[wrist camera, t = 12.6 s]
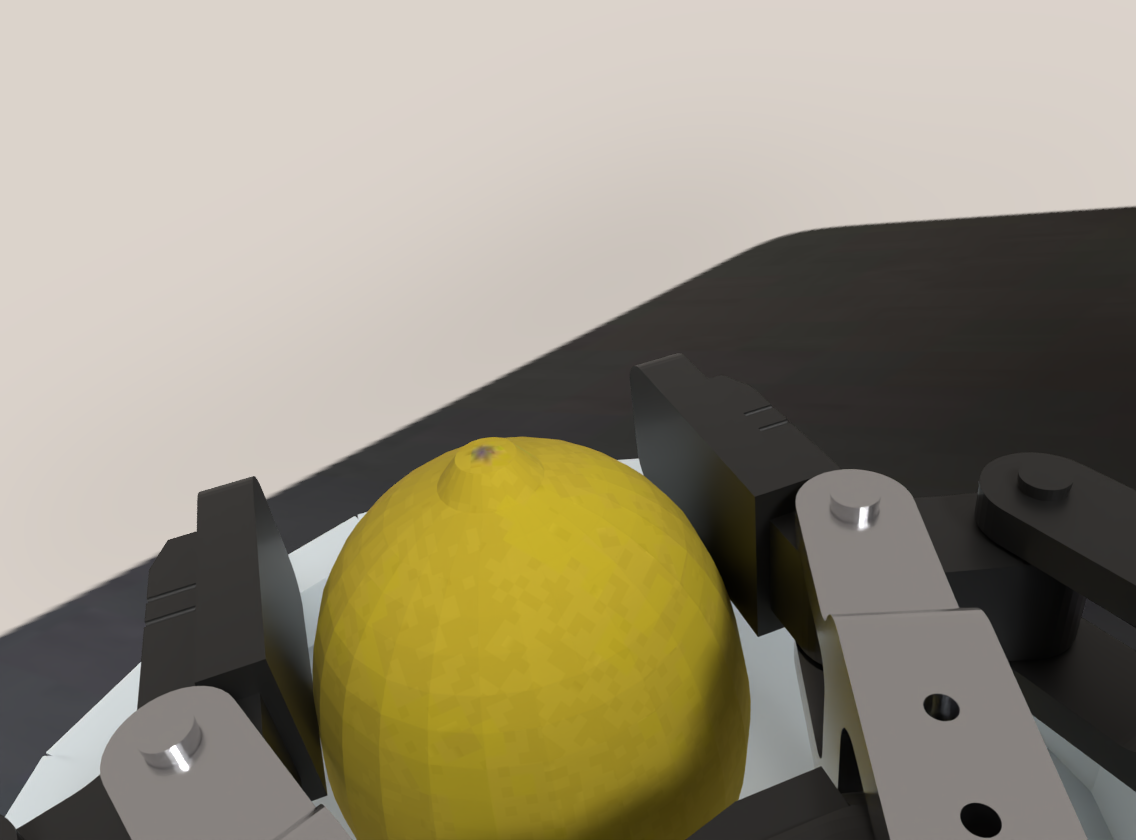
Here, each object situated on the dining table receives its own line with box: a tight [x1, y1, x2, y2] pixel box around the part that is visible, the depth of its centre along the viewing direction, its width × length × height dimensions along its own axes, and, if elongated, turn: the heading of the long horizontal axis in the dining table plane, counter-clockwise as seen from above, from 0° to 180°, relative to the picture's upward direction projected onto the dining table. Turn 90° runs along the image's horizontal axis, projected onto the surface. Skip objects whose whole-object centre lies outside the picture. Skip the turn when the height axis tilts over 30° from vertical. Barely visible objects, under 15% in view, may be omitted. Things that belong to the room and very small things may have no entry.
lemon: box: [312, 437, 751, 840], centre depth 12 cm, size 6×6×8 cm
